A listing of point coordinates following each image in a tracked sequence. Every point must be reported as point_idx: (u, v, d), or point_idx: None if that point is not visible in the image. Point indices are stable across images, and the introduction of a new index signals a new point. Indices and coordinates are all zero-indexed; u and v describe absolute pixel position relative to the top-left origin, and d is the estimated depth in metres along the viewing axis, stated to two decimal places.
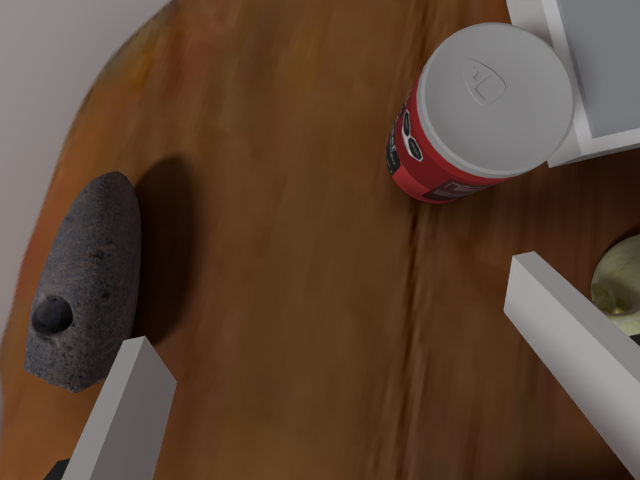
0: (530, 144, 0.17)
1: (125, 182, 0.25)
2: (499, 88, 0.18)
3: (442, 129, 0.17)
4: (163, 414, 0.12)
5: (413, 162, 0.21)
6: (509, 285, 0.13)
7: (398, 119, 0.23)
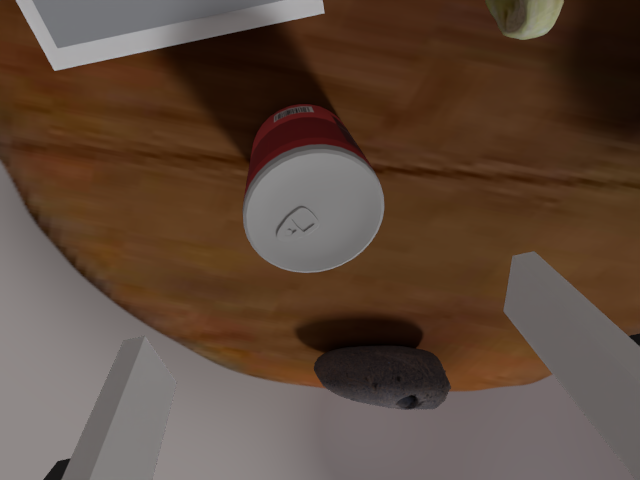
0: (358, 187, 0.19)
1: (322, 367, 0.38)
2: (304, 212, 0.19)
3: (338, 256, 0.21)
4: (163, 414, 0.12)
5: None
6: (509, 285, 0.13)
7: None
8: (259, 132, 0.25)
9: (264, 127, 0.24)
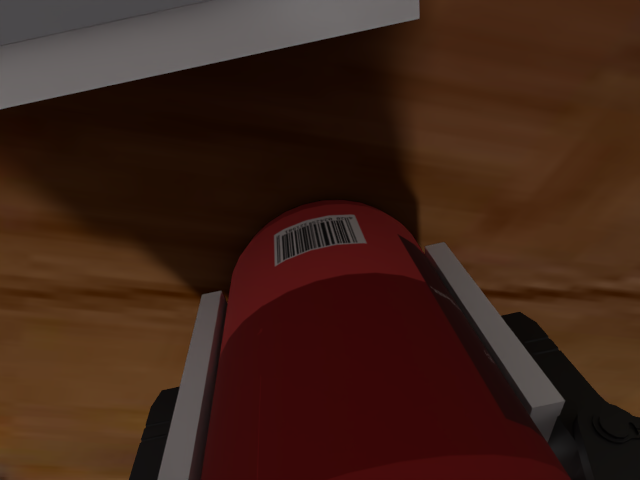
0: None
1: None
2: None
3: None
4: None
5: None
6: None
7: None
8: (243, 268, 0.12)
9: (253, 265, 0.11)
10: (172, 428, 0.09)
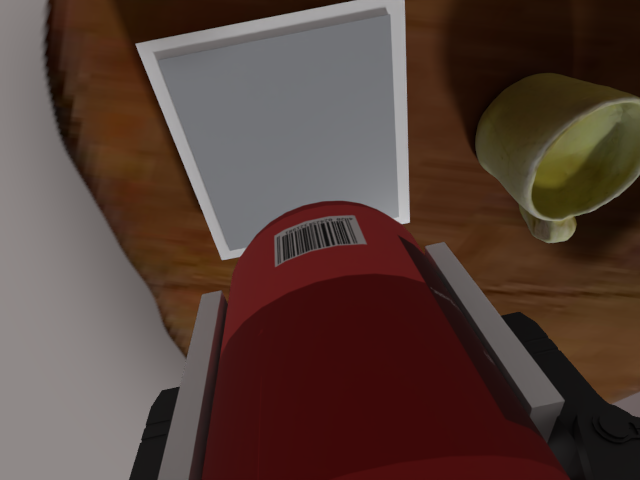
0: None
1: None
2: None
3: None
4: None
5: None
6: None
7: None
8: (243, 269, 0.12)
9: (253, 266, 0.11)
10: (171, 428, 0.09)
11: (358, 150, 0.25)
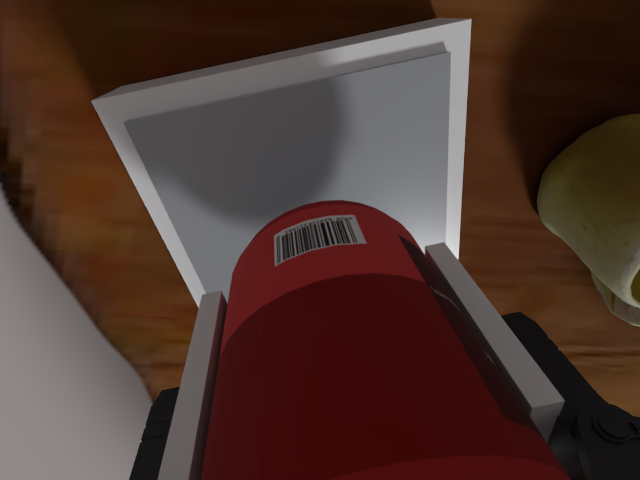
0: None
1: None
2: None
3: None
4: None
5: None
6: None
7: None
8: (243, 269, 0.12)
9: (253, 265, 0.11)
10: (172, 428, 0.09)
11: None
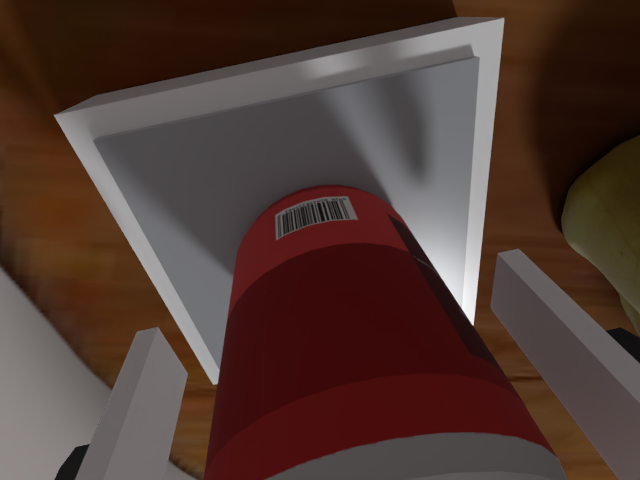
0: None
1: None
2: None
3: None
4: (175, 404, 0.12)
5: None
6: (494, 282, 0.13)
7: None
8: (247, 245, 0.13)
9: (256, 241, 0.12)
10: None
11: None
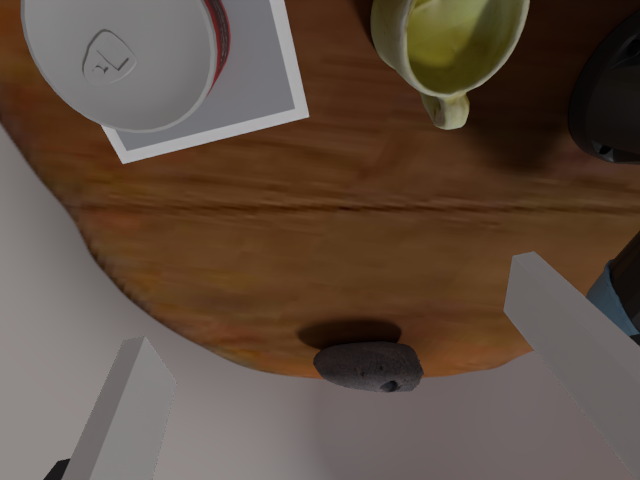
0: None
1: (320, 361, 0.48)
2: (109, 39, 0.15)
3: (174, 109, 0.17)
4: (162, 414, 0.12)
5: None
6: (509, 285, 0.13)
7: None
8: None
9: None
10: None
11: (236, 29, 0.25)
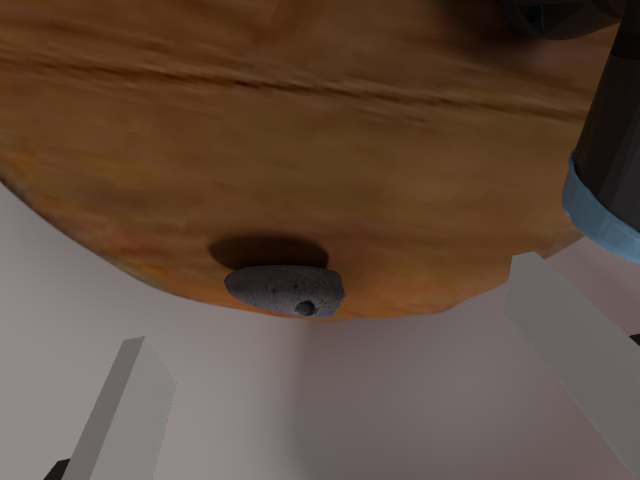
0: None
1: (230, 278, 0.43)
2: None
3: None
4: (162, 414, 0.12)
5: None
6: (509, 285, 0.13)
7: None
8: None
9: None
10: None
11: None
